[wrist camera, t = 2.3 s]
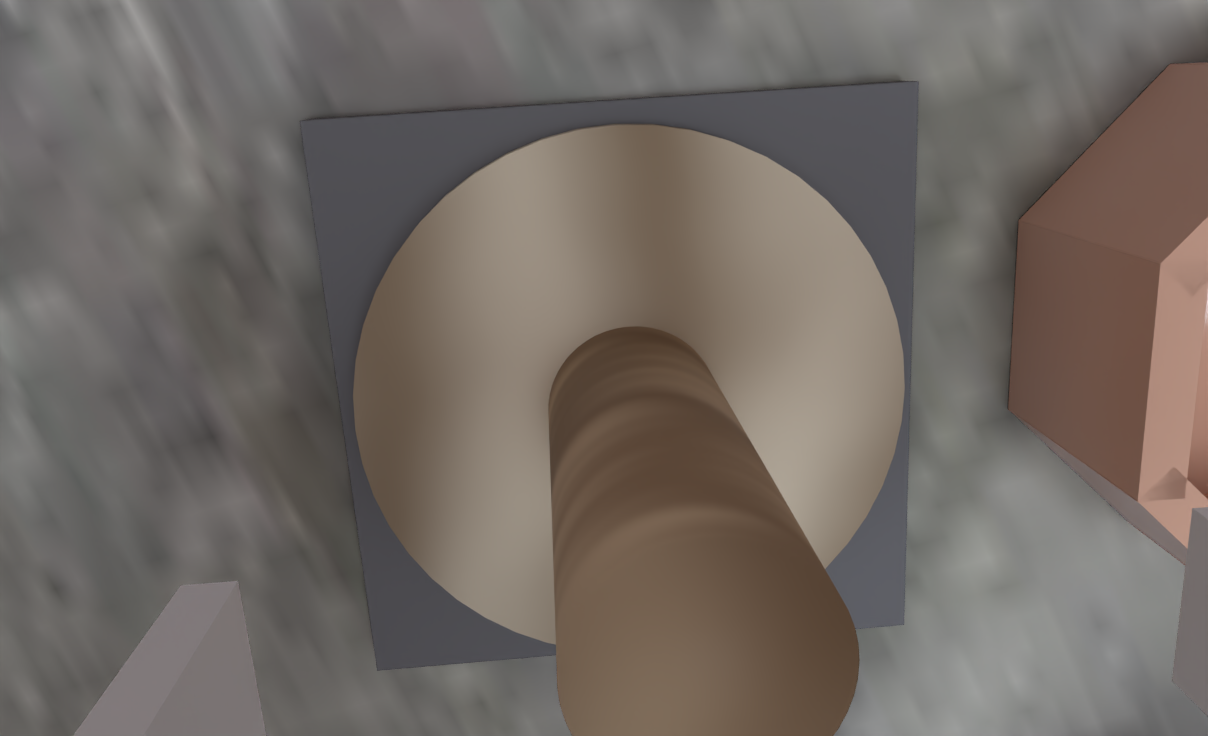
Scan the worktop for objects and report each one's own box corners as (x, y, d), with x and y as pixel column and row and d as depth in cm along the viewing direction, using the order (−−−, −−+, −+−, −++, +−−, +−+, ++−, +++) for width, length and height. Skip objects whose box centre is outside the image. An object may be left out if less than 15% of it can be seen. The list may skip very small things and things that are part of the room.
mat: (382, 650, 27) (377, 670, 26) (309, 119, 23) (299, 121, 23) (891, 605, 28) (904, 624, 27) (903, 81, 24) (918, 81, 23)
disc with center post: (393, 652, 26) (283, 1099, 15) (325, 142, 23) (107, 213, 11) (885, 609, 27) (1145, 1009, 15) (896, 105, 23) (1247, 136, 12)
